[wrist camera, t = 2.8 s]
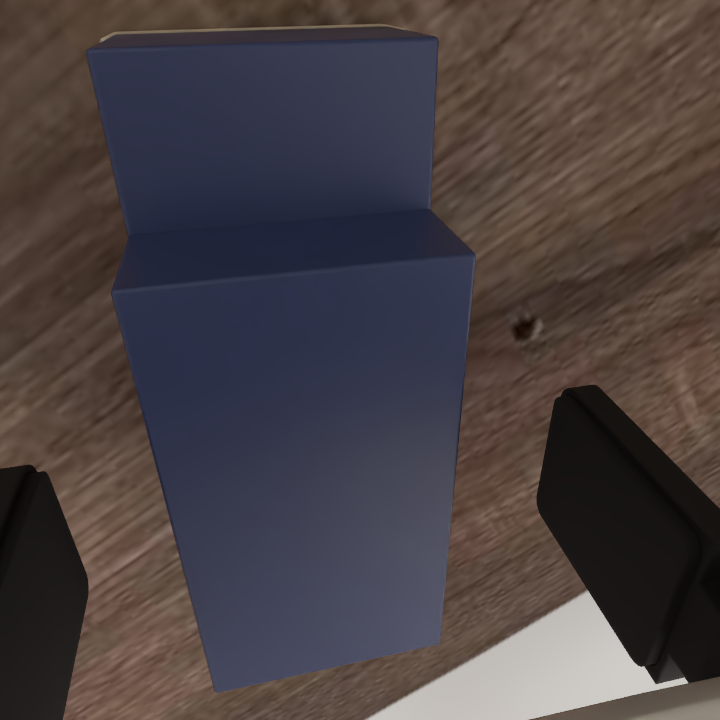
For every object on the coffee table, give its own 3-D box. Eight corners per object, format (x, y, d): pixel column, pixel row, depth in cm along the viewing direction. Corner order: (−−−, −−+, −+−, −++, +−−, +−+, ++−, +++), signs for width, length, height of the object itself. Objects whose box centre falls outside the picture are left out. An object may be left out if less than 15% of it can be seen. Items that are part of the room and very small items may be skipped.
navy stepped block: (211, 512, 17) (213, 708, 12) (111, 31, 11) (40, 66, 6) (381, 483, 18) (443, 657, 13) (383, 23, 12) (505, 48, 7)
